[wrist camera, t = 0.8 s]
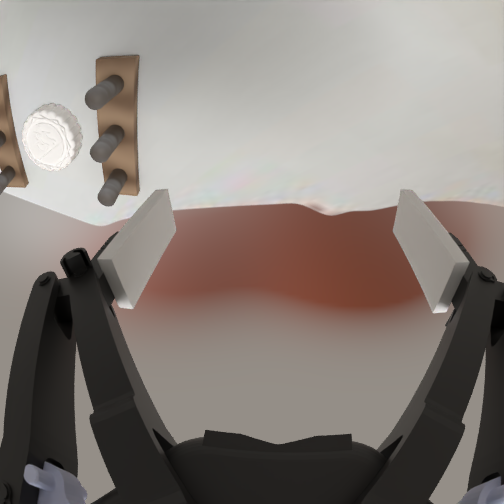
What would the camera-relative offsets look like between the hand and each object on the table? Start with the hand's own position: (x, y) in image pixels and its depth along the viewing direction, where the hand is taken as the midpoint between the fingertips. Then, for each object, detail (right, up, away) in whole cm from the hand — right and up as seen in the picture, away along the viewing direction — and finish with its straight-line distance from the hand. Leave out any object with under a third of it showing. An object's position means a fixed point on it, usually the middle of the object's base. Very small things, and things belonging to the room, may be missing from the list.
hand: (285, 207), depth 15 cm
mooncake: (-35, +18, +21) cm, 44 cm away
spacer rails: (-35, +18, +20) cm, 44 cm away
